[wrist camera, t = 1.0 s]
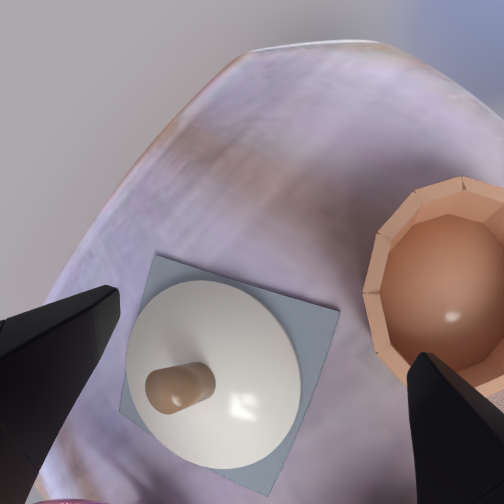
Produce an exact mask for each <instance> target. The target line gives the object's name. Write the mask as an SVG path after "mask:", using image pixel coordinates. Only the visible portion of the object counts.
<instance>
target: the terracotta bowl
mask: <svg viewBox="0 0 504 504" xmlns="http://www.w3.org/2000/svg"><path fill="white" fill-rule="evenodd" d="M362 292H363V294H362V295H363V299H364V304H365V308H366V312H367V317H368V321H369V325H370V330H371V335H372V340H373V344H374V349H375V352H376V355H377V356H378V357H379V358H380V359H381V360H382V362H383V363H384V364H385V365H386V366H387V367H388V368H389V369H390V370H391V371H392V372H393V374H394V375H395V376H396V377H397V378H398V379H399V380H400V381H401V382H402V383H403V384H404V386H405V387H406V388H407V379H406V377H407V372H408V370H409V368H410V367H411V365H412V364H413V362H414V361H415V359H416V357H417V356H418V354H419V353H421V352H431V353H433V354H435V355H436V356H437V357H438V358H440V359H441V360H442V361H443V362H444V363H446V364H447V365H448V366H449V367H450V368H451V369H453V370H454V371H455V372H456V373H457V374H459V375H460V376H461V377H462V378H463V379H464V380H466V381H467V382H468V383H469V384H470V385H472V386H473V387H474V388H475V389H476V390H477V391H478V392H480V393H481V394H482V395H483V396H484V397H485V398H486V397H488V396H490V395H493V394H495V393H497V392H499V391H502V390H504V189H503V188H500V187H497V186H494V185H491V184H488V183H485V182H482V181H478V180H475V179H472V178H468V177H465V176H462V178H461V176H459V177H456V178H452V179H449V180H446V181H442V182H439V183H436V184H432V185H429V186H426V187H422V188H419V189H416V190H415V191H413V192H412V193H411V194H410V195H409V196H408V197H407V199H406V200H405V201H404V202H403V203H402V204H401V206H400V207H399V208H398V209H397V210H396V211H395V212H394V214H393V215H392V216H391V217H390V218H389V219H388V220H387V222H386V223H385V224H384V225H383V226H382V227H381V228H380V229H379V230H378V232H377V234H376V238H375V242H374V247H373V251H372V255H371V260H370V264H369V268H368V272H367V276H366V280H365V283H364V287H363V291H362Z"/></svg>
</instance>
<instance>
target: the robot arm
mask: <svg viewBox="0 0 504 504" xmlns="http://www.w3.org/2000/svg"><path fill="white" fill-rule="evenodd" d="M119 318H120V294H119V290H118V289H117V288H115V287H112V286H109V285H103V286H100V287H97V288H94V289H91V290H88V291H85V292H82V293H79V294H76V295H74V296H71V297H68V298H65V299H62V300H59V301H56V302H53V303H50V304H47V305H44V306H41V307H38V308H36V309H33V310H30V311H27V312H24V313H21V314H18V315H16V316H13V317H10V318H7V319H6V320H1V321H0V504H25V502H26V499H27V497H28V495H29V492H30V490H31V488H32V486H33V484H34V482H35V480H36V478H37V475H38V473H39V470H40V469H41V467H42V465H43V462H44V460H45V458H46V456H47V454H48V452H49V450H50V448H51V447H52V445H53V443H54V441H55V439H56V437H57V435H58V433H59V431H60V429H61V427H62V426H63V424H64V422H65V420H66V418H67V416H68V414H69V413H70V411H71V409H72V407H73V405H74V404H75V402H76V400H77V398H78V397H79V395H80V393H81V391H82V390H83V388H84V386H85V384H86V383H87V381H88V379H89V378H90V376H91V374H92V372H93V371H94V369H95V367H96V366H97V364H98V362H99V360H100V359H101V356H102V354H103V352H104V350H105V348H106V346H107V344H108V341H109V339H110V337H111V335H112V333H113V331H114V329H115V327H116V325H117V322H118V320H119ZM406 379H407V392H408V408H409V421H410V429H411V437H412V445H413V453H414V463H415V474H416V488H417V504H504V413H502V412H501V411H500V410H499V409H498V408H497V407H496V406H495V405H493V404H492V403H491V402H490V401H489V400H488V399H487V398H485V397H484V396H483V395H482V394H481V393H480V392H478V391H477V390H476V389H475V388H474V387H473V386H472V385H470V384H469V383H468V382H467V381H466V380H464V379H463V378H462V377H461V376H460V375H459V374H457V373H456V372H455V371H454V370H453V369H451V368H450V367H449V366H448V365H447V364H446V363H444V362H443V361H442V360H441V359H440V358H438V357H437V356H436V355H435V354H433V353H431V352H421V353H419V354H418V356H417V357H416V359H415V361H414V362H413V364H412V365H411V367H410V368H409V370H408V372H407V377H406Z"/></svg>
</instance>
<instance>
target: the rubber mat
mask: <svg viewBox="0 0 504 504" xmlns="http://www.w3.org/2000/svg"><path fill="white" fill-rule="evenodd" d="M200 280H203V281H214V282H219V283H223V284H227V285H231V286H234V287H236V288H239V289H241V290H244V291H245V292H247V293H249V294H251V295H252V296H254V297H255V298H257V299H258V300H259V301H261V302H262V303H263V304H265V305H266V306H267V307H268V308H269V309H270V310H271V311H272V312H273V313H274V314H275V315H276V317H277V318H278V319H279V321H280V322H281V323H282V324H283V326H284V327H285V329H286V331H287V332H288V334H289V336H290V338H291V340H292V342H293V344H294V347H295V349H296V351H297V355H298V358H299V362H300V366H301V373H302V398H301V404H300V408H299V411H298V415H297V418H296V420H295V422H294V424H293V426H292V428H291V430H290V431H289V432H288V434H287V435H286V437H285V438H284V439H283V441H282V442H281V443H280V444H279V445H278V446H277V447H276V448H275V449H274V450H273V451H272V452H271V453H270V454H268V455H267V456H266V457H264V458H263V459H261V460H259V461H257V462H255V463H253V464H250V465H247V466H244V467H239V468H233V469H215V468H208V467H205V468H207V469H209V470H211V471H213V472H215V473H216V474H218V475H220V476H222V477H224V478H226V479H228V480H231V481H233V482H235V483H237V484H239V485H241V486H243V487H245V488H248V489H250V490H252V491H255V492H257V493H259V494H262V495H264V496H268V495H269V493H270V491H271V489H272V487H273V485H274V483H275V481H276V479H277V477H278V475H279V473H280V471H281V468H282V466H283V464H284V462H285V460H286V458H287V455H288V453H289V451H290V449H291V446H292V444H293V442H294V439H295V437H296V435H297V432H298V430H299V427H300V425H301V423H302V420H303V418H304V415H305V413H306V410H307V408H308V405H309V402H310V400H311V397H312V395H313V392H314V389H315V387H316V384H317V381H318V378H319V376H320V373H321V370H322V367H323V364H324V361H325V358H326V355H327V353H328V350H329V347H330V343H331V340H332V337H333V334H334V331H335V328H336V325H337V321H338V318H339V315H340V311H336V310H332V309H329V308H325V307H322V306H318V305H315V304H312V303H308V302H305V301H301V300H298V299H294V298H291V297H288V296H284V295H281V294H278V293H274V292H271V291H268V290H264V289H261V288H258V287H255V286H251V285H248V284H245V283H242V282H238V281H235V280H232V279H229V278H226V277H223V276H219V275H216V274H213V273H210V272H207V271H204V270H201V269H198V268H194V267H191V266H188V265H185V264H182V263H179V262H176V261H173V260H170V259H167V258H164V257H161V256H158V255H155V256H154V259H153V263H152V266H151V270H150V273H149V277H148V280H147V284H146V288H145V292H144V295H143V299H142V303H141V307H140V311H139V315H140V313H141V312H142V310H143V309H144V308H145V306H146V305H147V304H148V303H149V302H150V301H151V300H152V299H153V298H154V297H155V296H157V295H158V294H159V293H161V292H162V291H164V290H166V289H167V288H169V287H171V286H174V285H177V284H179V283H184V282H188V281H200ZM139 315H138V316H139ZM119 412H120V413H121V414H123V415H124V416H125V417H127V418H128V419H129V420H131V421H132V422H134V423H135V424H136V425H138V426H139V427H141V428H142V429H143V430H145V431H146V432H148V433H149V434H151V435H152V436H154V435H153V434H152V433H151V431H150V430H149V429H148V428H147V426H146V425H145V423H144V422H143V420H142V418H141V417H140V415H139V413H138V411H137V409H136V407H135V405H134V402H133V399H132V396H131V393H130V389H129V385H128V379H127V371H126V375H125V380H124V386H123V391H122V397H121V403H120V409H119ZM154 437H155V436H154ZM155 438H156V437H155ZM203 467H204V466H203Z"/></svg>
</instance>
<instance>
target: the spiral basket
mask: <svg viewBox="0 0 504 504" xmlns="http://www.w3.org/2000/svg"><path fill="white" fill-rule="evenodd" d="M34 504H109V503H105V502H100V501H94V500H86V499H53V500H46V501H41V502H37V503H34Z"/></svg>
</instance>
